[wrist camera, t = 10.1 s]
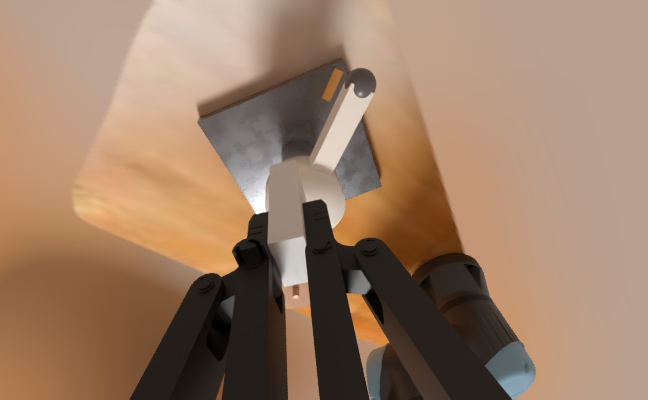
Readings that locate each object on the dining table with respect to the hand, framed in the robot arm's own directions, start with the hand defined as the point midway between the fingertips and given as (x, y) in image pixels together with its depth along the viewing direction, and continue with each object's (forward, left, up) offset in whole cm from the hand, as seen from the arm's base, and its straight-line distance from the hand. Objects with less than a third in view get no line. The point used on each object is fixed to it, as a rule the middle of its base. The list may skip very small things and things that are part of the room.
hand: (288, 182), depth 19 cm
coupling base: (-11, +2, -26) cm, 29 cm away
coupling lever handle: (-7, -1, -17) cm, 18 cm away
